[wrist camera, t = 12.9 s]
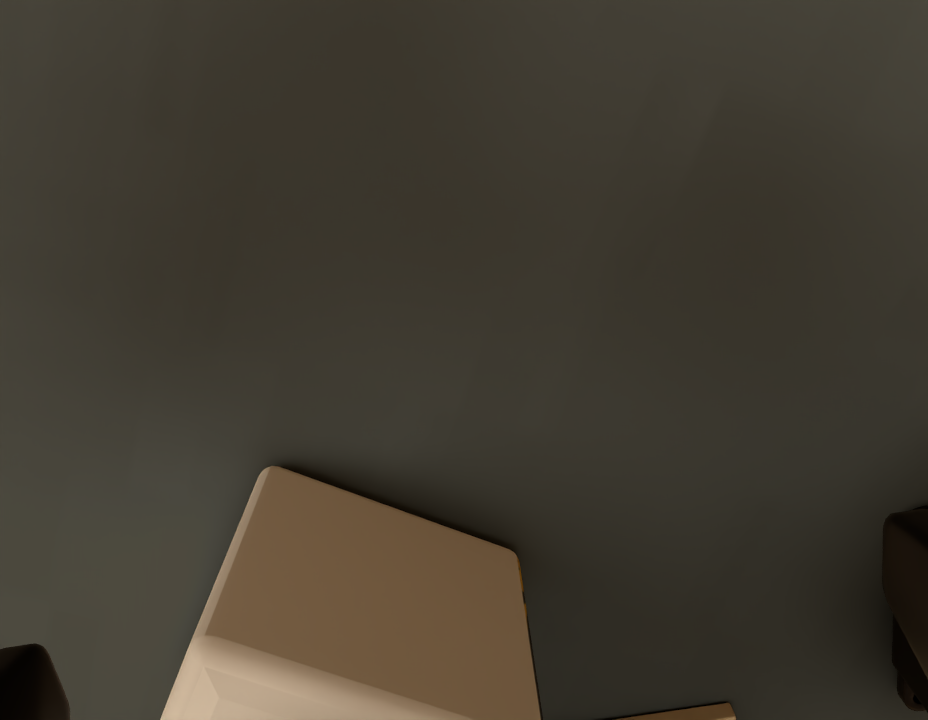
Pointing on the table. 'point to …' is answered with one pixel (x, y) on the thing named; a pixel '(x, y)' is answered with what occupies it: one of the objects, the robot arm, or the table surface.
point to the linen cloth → (692, 714)
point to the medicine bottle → (356, 617)
